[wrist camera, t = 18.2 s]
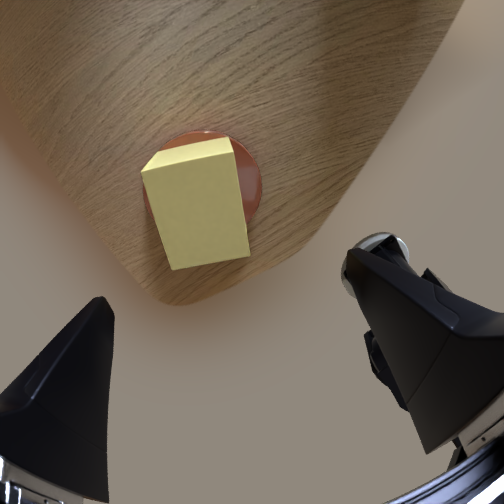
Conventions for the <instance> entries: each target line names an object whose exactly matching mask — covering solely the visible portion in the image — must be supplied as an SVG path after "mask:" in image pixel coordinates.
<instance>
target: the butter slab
mask: <svg viewBox="0 0 504 504" xmlns="http://www.w3.org/2000/svg"><path fill="white" fill-rule="evenodd" d="M141 175H142V179H143V182H144V186H145V189H146V193H147V196H148V200H149V203H150V206H151V209H152V213H153V216H154V219H155V222H156V225H157V228H158V232H159V235H160V238H161V241H162V244H163V247H164V249H165V252H166V255H167V258H168V261H169V264H170V267H171V269H172V270H178V269H184V268H189V267H194V266H200V265H205V264H211V263H216V262H221V261H227V260H232V259H238V258H243V257H248V256H251V254H250V248H249V242H248V236H247V229H246V223H245V217H244V211H243V205H242V199H241V193H240V187H239V181H238V174H237V168H236V162H235V156H234V151H233V148H232V145H231V142H230V140H229V137H224V138H218V139H213V140H208V141H203V142H198V143H193V144H188V145H184V146H179V147H175V148H171V149H167V150H163V151H159V152H157V153H156V154H155V155H154V156H153V157H152V158H151V160H150V161H149V162H148V163H147V164H146V166H145V167H144V168H143V169H142V171H141Z"/></svg>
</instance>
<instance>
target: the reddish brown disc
mask: <svg viewBox="0 0 504 504" xmlns="http://www.w3.org/2000/svg"><path fill="white" fill-rule="evenodd" d="M224 137H229V140H230V142H231V145H232V148H233V151H234V156H235V162H236V168H237V174H238V181H239V187H240V193H241V199H242V205H243V211H244V217H245V223H246V225H247V223H248V222H249V221H250V220H251V219H252V217H253V215H254V214H255V212H256V210H257V208H258V206H259V202H260V199H261V193H262V182H261V175H260V171H259V169H258V166H257V164H256V162H255V160H254V159H253V157H252V155H251V154H250V152H249V151H248V150H247V149H246V147H245V146H244V145H242V144H241V143H240V142H239V141H238V140H236V139H235V138H233V137H231V136H229V135H227V134H225V133H222V132H219V131H214V130H205V129H203V130H193V131H188V132H185V133H182V134H179V135H177V136H175V137H173V138H172V139H170V140H169V141H167V142H166V143H165V144H164V145H163V146H162V147H161V148H160V149H159V150H158V151H157V152H159V151H163V150H167V149H171V148H175V147H179V146H184V145H188V144H193V143H198V142H203V141H208V140H213V139H218V138H224ZM143 196H144V201H145V205H146V208H147V210H148V212H149V214H150V216H151V217H152V219H153V220H154V221H155V219H154V216H153V213H152V209H151V206H150V203H149V200H148V196H147V193H146V189H145V186H144V182H143ZM155 223H156V222H155Z"/></svg>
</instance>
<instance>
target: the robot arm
mask: <svg viewBox="0 0 504 504" xmlns="http://www.w3.org/2000/svg"><path fill="white" fill-rule="evenodd" d="M391 240H392V241H391ZM343 274H344V276H345V278H346V279H347V280H348V282H349V283H350V284H351V286H352V288H353V291H354V293H355V296H356V298H357V301H358V303H359V306H360V308H361V310H362V312H363V314H364V316H365V318H366V320H367V322H368V324H369V326H370V328H371V330H370V331H367V332H366V333H365V334H364V338H365V343H366V347H367V350H368V355H369V359H370V363H371V367H372V371H373V373H374V374H375V375H376V377H377V378H378V379H379V380H380V381H381V382H382V383H383V384H385V385H386V386H388V387H389V389H390V390H391V392H392V393H393V395H394V397H395V399H396V401H397V402H398V404H399V406H400V407H401V408H402V409H404V410H406V411H408V412H409V413H410V415H411V417H412V420H413V422H414V425H415V427H416V430H417V432H418V435H419V437H420V440H421V443H422V445H423V448H424V450H425V453H426V454H429V453H431V452H433V451H435V450H436V449H438V448H440V447H441V446H443V445H445V444H447V443H448V442H450V441H453V443H454V444H455V446H456V448H457V449H455V450H454V452H453V455H452V458H451V461H450V463H449V466H448V469H447V471H446V472H444V473H442V474H441V475H439V476H437V477H436V478H434V479H432V480H430V481H429V482H427V483H425V484H423V485H421V486H419V487H417V488H415V489H413V490H411V491H409V492H407V493H405V494H403V495H401V496H399V497H397V498H394V499H392V500H390V501H387V502H385V503H383V504H504V313H499V312H495V311H492V310H489V309H487V308H485V307H483V306H480V305H478V304H476V303H473V302H471V301H469V300H467V299H464V298H462V297H460V296H457V295H455V294H453V292H452V291H451V290H450V289H449V288H448V287H447V286H446V285H445V284H444V283H443V282H442V281H441V280H440V279H439V278H438V277H437V276H436V275H435V274H434V273H433V272H432V271H430V270H429V269H428V268H427V269H426V270H425V271H424V274H423V275H422V276H421V277H419V276H418V275H417V273H416V272H415V271H414V270H413V269H412V268H411V267H410V266H409V264H408V262H407V260H406V258H405V256H404V254H403V251H402V249H401V247H400V245H399V243H398V241H397V239H396V237H395V236H394V235H390V236H388V237H387V238H386V239H384V240H383V241H382V242H381V243H379V244H378V245H377V246H376V247H374V248H373V249H372V250H371V251H369V252H367V251H365V250H363V249H361V248H354V249H350V250H348V252H347V262H346V270H345V271H344V273H343ZM114 321H115V316H114V313H113V310H112V309H111V307H110V305H109V303H108V302H107V300H106V298H105V297H103V296H101V297H95V298H93V299H92V300H91V301H90V302H89V303H88V304H87V305H86V306H85V307H84V308H83V309H82V310H81V311H80V312H79V313H78V314H77V315H76V316H75V317H74V318H73V319H72V320H71V321H70V322H69V323H68V324H67V325H66V326H65V327H64V328H63V329H62V330H61V331H60V332H59V333H58V334H57V335H56V336H55V337H54V338H53V339H52V340H51V341H50V343H49V344H48V345H47V346H46V347H45V348H44V349H43V350H42V351H41V352H40V353H39V355H37V356H36V358H35V359H34V360H33V361H32V362H31V363H30V364H29V365H28V366H27V367H26V369H24V371H23V372H22V373H21V374H20V375H19V376H18V377H17V378H16V379H15V380H14V381H13V382H12V383H11V384H10V385H9V386H8V387H7V388H6V389H5V390H4V391H3V392H2V393H1V394H0V504H83V498H86V499H90V500H95V501H99V502H104V503H109V491H108V476H107V475H108V473H107V453H106V452H107V422H108V420H107V419H108V402H109V389H110V376H111V367H112V359H113V345H114Z"/></svg>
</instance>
